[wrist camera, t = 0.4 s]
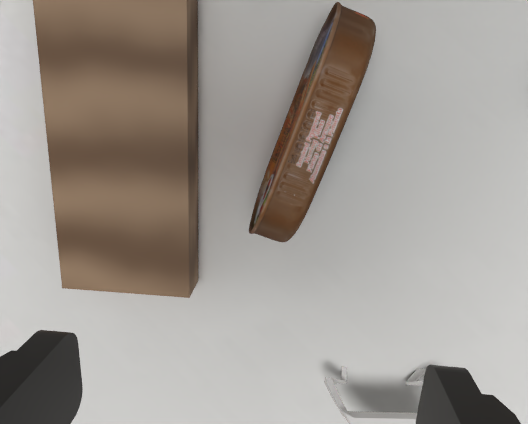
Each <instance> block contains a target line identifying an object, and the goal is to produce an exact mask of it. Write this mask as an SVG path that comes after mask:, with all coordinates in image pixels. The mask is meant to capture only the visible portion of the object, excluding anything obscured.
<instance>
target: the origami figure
mask: <svg viewBox="0 0 528 424" xmlns="http://www.w3.org/2000/svg"><path fill="white" fill-rule="evenodd" d="M425 371H426V369H417V370H416V371H415V372H414V373H413V374H412V376H411V377H410V378H409V379H408V380H407V382H406V385H423V381H418V380H419V379H420V378H421V377H422V376H423V375H424V373H425ZM324 383H325V385H326V387H327V389H328V391H329V393H330V395H331V397H332V398H333V400H334V402H335V404H336V405H337V407H338V409H339V410H340V412H341V414H342V415H343V416H344V417H345V419H346V420H347V421H348V422H349V424H416V418H417V413H407V412H351V411H347V410H346V408H345V406H344V404H343V402H342V399H341V397H340V395H339V393H338V391H337V389H336V387H335V384H345V383H347V367H344V366H342V374H341V380H340V379H334V378H329V377H325V381H324Z"/></svg>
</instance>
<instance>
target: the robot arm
mask: <svg viewBox="0 0 528 424" xmlns="http://www.w3.org/2000/svg"><path fill="white" fill-rule="evenodd" d="M81 398H82V378H81V368H80V358H79V348H78V340H77V337H76V335H75V334H74V333H68V332H57V331H45V330H40V331H38V332H36V333H35V334H34V335H33V336H32V337H31V338H30V339H29V340H28V341H26V342H25V343H24V344H23V345H22V346H21V347H20V348H19V349H18V350H17V351H10V352H8V353H6V354H5V355H3V356H1V357H0V424H70V423H71V422H72V420H73V419H74V417H75V416H76V413H77V411H78V409H79V406H80V403H81ZM416 424H521V423H520V422H519V420H518V419H517V417H516V415H515V414H514V413H513V412H511V411H510V410H509V409H508V408H507V407H506V406H505V405H504V404H502V403H501V402H500V401H499V400H498V399H497V398H496V397H494V396H493V395H485V394H481V392H480V390H479V389H478V387H477V385H476V383H475V382H474V380H473V378H472V376H471V375H470V373H469V372H468V370H467V369H465V368H458V367H447V366H436V365H429V366H428V367H427V369H426V371H425V376H424V381H423V386H422V391H421V397H420V402H419V407H418V412H417V418H416Z"/></svg>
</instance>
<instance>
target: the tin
mask: <svg viewBox="0 0 528 424" xmlns="http://www.w3.org/2000/svg"><path fill="white" fill-rule="evenodd" d="M375 34H376V26H375V23H374V22H373V21H372V19H370V18H369V17H367V16H365V15H363V14H360V13H358V12H356V11H353V10H351V9H348V8H346V7H344V6H342V5H341V4H340V3H339V2H336V3H335V5H334V6H333V8H332V10H331V11H330V13H329V15H328V17H327V19H326V21H325V23H324V25H323V27H322V29H321V31H320V33H319V35H318V38H317V40H316V42H315V45H314V47H313V50H312V52H311V54H310V57H309V60H308V63H307V65H306V67H305V70H304V72H303V75H302V78H301V80H300V83H299V85H298V88H297V91H296V93H295V96H294V99H293V101H292V104H291V107H290V109H289V112H288V114H287V117H286V120H285V122H284V125H283V127H282V130H281V133H280V135H279V138H278V140H277V143H276V146H275V148H274V151H273V154H272V156H271V159H270V162H269V164H268V167H267V170H266V173H265V175H264V179H263V181H262V184H261V187H260V190H259V193H258V196H257V199H256V203H255V206H254V210H253V214H252V218H251V222H250V226H249V233H251V234H253V233H255V234H258V235H261V236H264V237H267V238H270V239H272V240H275V241H279V242H286V241H288V240H289V239H290V238H291V237H292V236H293V235H294V234H295V233H296V231H297V230H298V228H299V226H300V225H301V223H302V221H303V219H304V217H305V215H306V213H307V211H308V209H309V207H310V204H311V202H312V200H313V198H314V195H315V193H316V191H317V188H318V186H319V184H320V181H321V179H322V177H323V175H324V172H325V170H326V167H327V165H328V163H329V161H330V158H331V156H332V153H333V151H334V149H335V146H336V144H337V141H338V139H339V137H340V134H341V132H342V130H343V127H344V125H345V122H346V120H347V117H348V115H349V113H350V110H351V108H352V105H353V103H354V100H355V98H356V95H357V93H358V90H359V88H360V86H361V83H362V80H363V78H364V75H365V72H366V69H367V67H368V64H369V60H370V57H371V54H372V50H373V46H374V42H375Z"/></svg>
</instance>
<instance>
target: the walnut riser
mask: <svg viewBox="0 0 528 424" xmlns="http://www.w3.org/2000/svg"><path fill="white" fill-rule="evenodd" d="M33 6H34V15H35V25H36V35H37V45H38V55H39V64H40V74H41V84H42V94H43V103H44V113H45V123H46V133H47V143H48V152H49V162H50V172H51V182H52V191H53V201H54V211H55V221H56V231H57V240H58V250H59V260H60V270H61V279H62V288H68V289H81V290H94V291H108V292H121V293H134V294H148V295H161V296H174V297H187V298H189V297H190V295H191V294H192V292H193V290H194V288H195V286H196V284H197V282H198V0H33Z"/></svg>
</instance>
